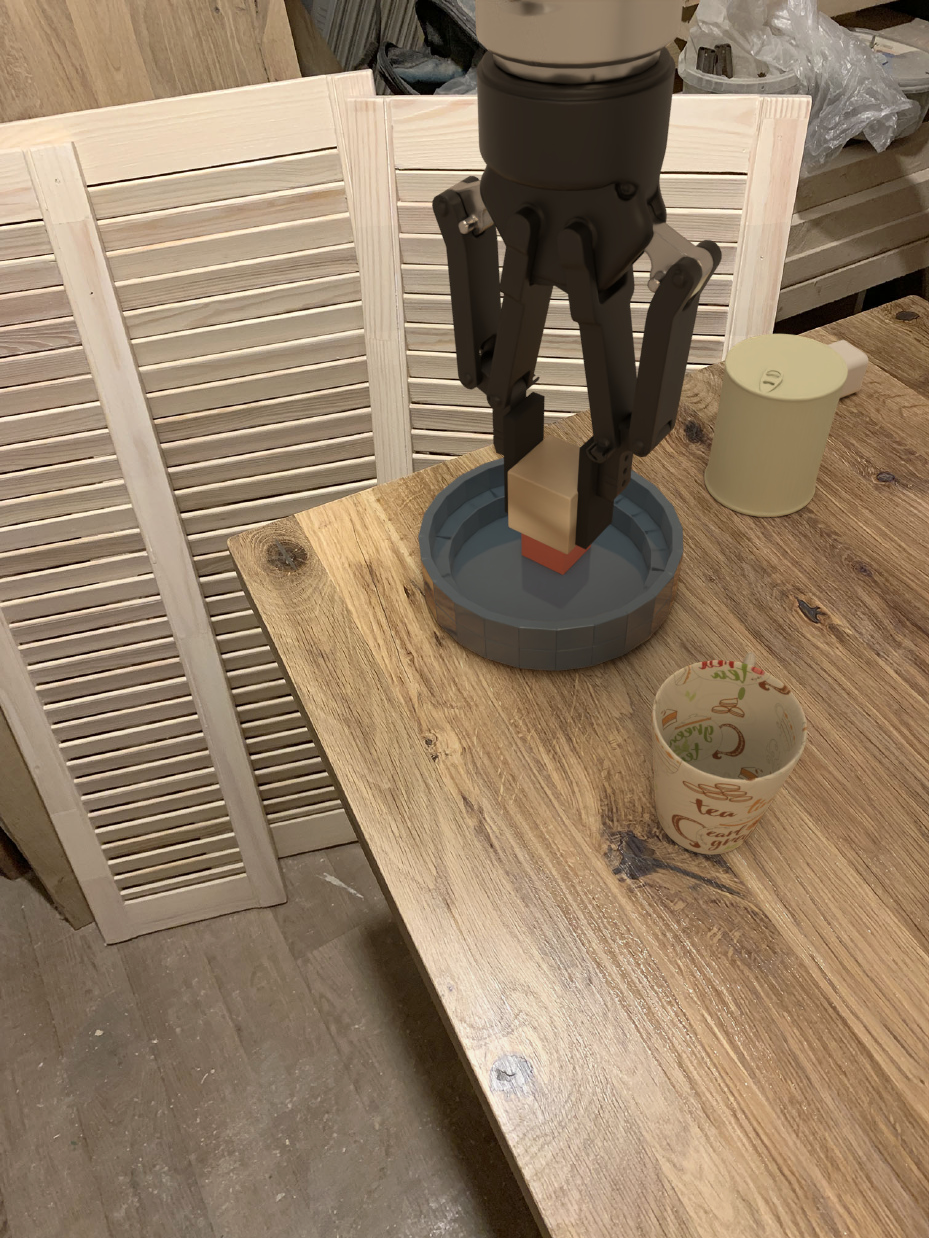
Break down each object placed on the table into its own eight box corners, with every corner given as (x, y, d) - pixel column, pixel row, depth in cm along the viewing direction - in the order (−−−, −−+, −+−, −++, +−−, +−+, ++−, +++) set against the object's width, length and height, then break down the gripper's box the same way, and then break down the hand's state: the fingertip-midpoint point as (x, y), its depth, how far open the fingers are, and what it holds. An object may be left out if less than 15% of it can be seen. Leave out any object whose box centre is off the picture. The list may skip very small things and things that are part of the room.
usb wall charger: (858, 394, 87) (870, 357, 84) (800, 416, 85) (809, 379, 83) (829, 374, 90) (839, 337, 87) (772, 395, 88) (780, 358, 85)
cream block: (606, 515, 52) (611, 458, 49) (567, 555, 50) (570, 499, 47) (547, 489, 54) (549, 433, 51) (507, 527, 52) (506, 471, 49)
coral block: (591, 546, 74) (593, 508, 71) (562, 575, 72) (564, 537, 69) (549, 527, 76) (550, 489, 73) (521, 555, 74) (520, 517, 71)
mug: (622, 848, 57) (635, 755, 49) (669, 695, 65) (687, 595, 57) (760, 891, 54) (796, 801, 47) (792, 727, 62) (827, 627, 55)
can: (685, 494, 79) (705, 371, 70) (730, 438, 84) (753, 316, 75) (790, 532, 75) (824, 407, 66) (831, 470, 80) (867, 346, 71)
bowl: (721, 558, 73) (731, 510, 70) (584, 719, 64) (588, 673, 60) (520, 470, 82) (520, 424, 79) (373, 600, 72) (365, 554, 69)
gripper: (341, 41, 37) (399, 497, 54) (739, 125, 29) (658, 622, 46) (457, -8, 40) (477, 432, 58) (835, 55, 33) (727, 538, 50)
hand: (557, 516), depth 52 cm, fingers closed on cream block, 4 cm apart
